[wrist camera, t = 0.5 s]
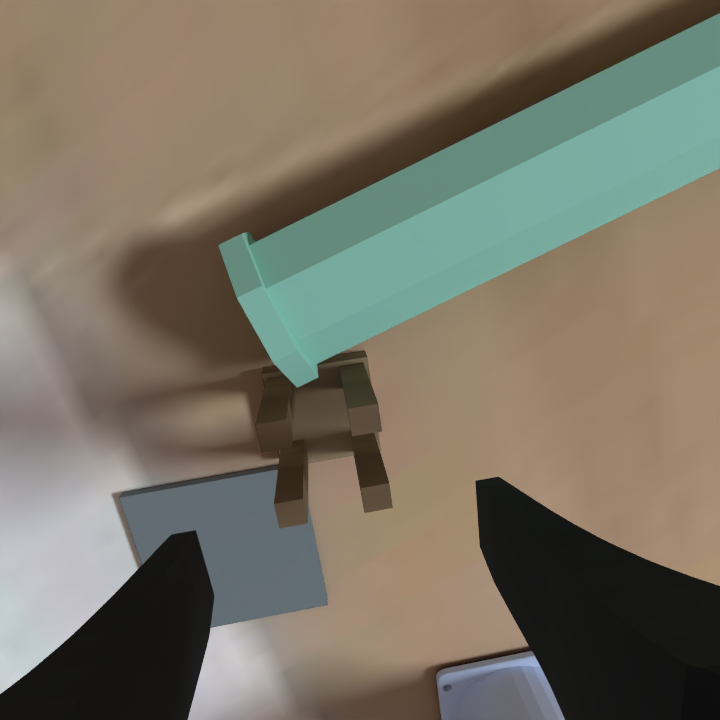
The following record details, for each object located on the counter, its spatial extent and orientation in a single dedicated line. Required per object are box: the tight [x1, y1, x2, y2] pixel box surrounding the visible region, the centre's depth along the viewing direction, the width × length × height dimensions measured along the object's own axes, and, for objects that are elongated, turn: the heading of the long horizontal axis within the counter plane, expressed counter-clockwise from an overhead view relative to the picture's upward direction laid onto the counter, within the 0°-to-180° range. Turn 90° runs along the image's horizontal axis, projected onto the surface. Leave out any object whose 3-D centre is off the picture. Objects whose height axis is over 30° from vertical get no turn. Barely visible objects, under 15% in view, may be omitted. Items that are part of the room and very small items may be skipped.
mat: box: [119, 465, 328, 628], centre depth 23 cm, size 8×8×1 cm
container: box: [218, 13, 720, 388], centre depth 17 cm, size 6×6×25 cm
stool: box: [256, 351, 393, 529], centre depth 19 cm, size 4×4×6 cm
